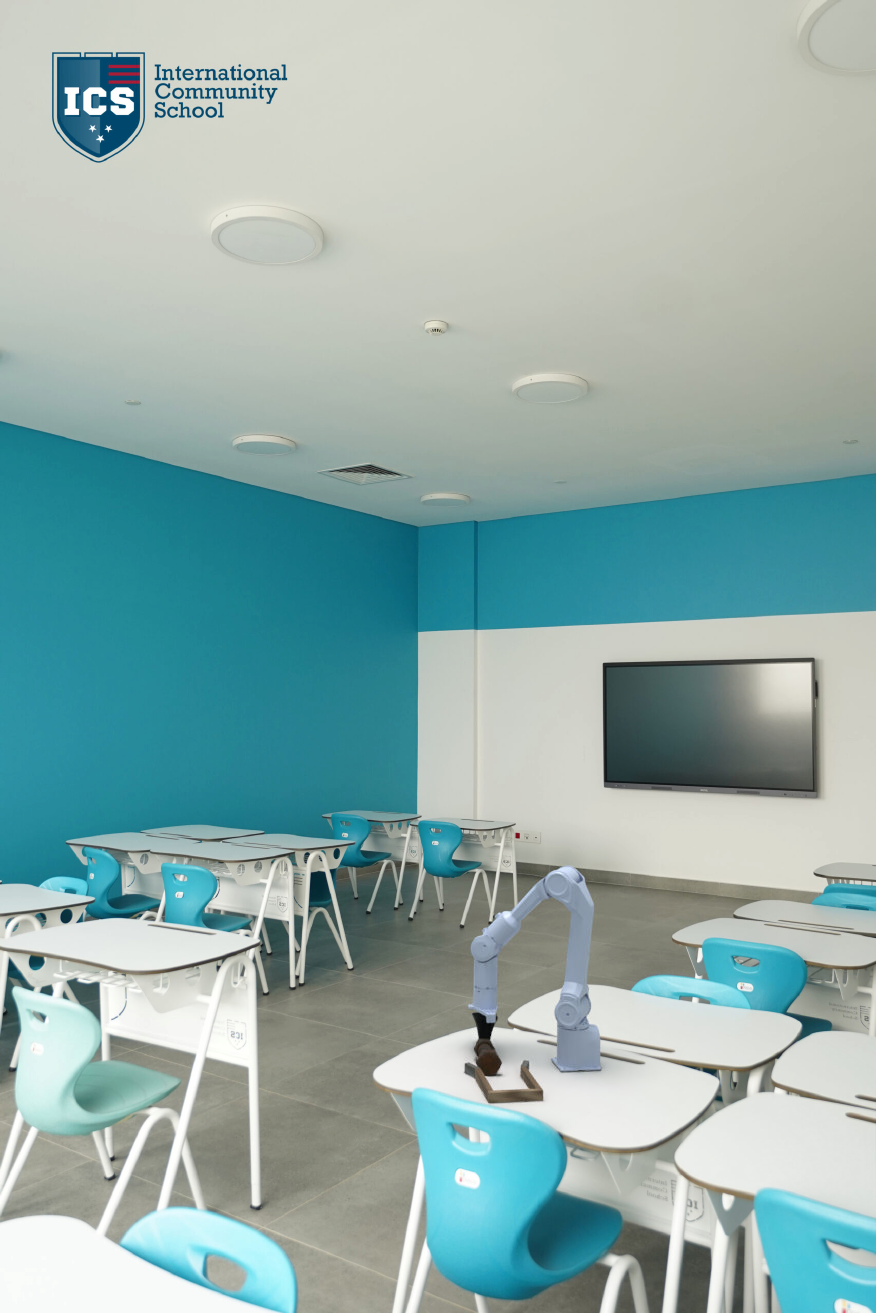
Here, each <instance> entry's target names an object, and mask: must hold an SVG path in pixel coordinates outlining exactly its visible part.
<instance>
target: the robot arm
mask: <svg viewBox="0 0 876 1313" xmlns="http://www.w3.org/2000/svg"><path fill="white" fill-rule="evenodd" d="M578 870H579V869H578ZM578 870H577V869H576V868H575V867H574V866H572V865H563V866H561V867H559V868H558V869H555V870H552V871H550V872H548V873H547V875H546V876H545V877H543V878H542V879H540V880H539V881H538V882H536V883H535V884H534V886H532V888H531V889H530V890H529V891H528V892H527V893H526V895H524V897H523V898H522V899H521V900H520V901H519V902H518V903H517V904H516V906H514V907H513V908H512V909H511V911H509V910H504V911H502V912H498V913H496V914H495V916H494V918H495V919H494V920H493V922H491V924H490V925H488V927H484V928H483V929H482V930H481V932H482V935H478V936H476V937H474V939H473V940H472V942H471V944H470V953H471V955H472V957H473V983H472V984H473V989H472V990H473V991H472V994H473V995H472V1003H470V1004H467V1009H468V1010H473V1011H475V1012H472V1013H471V1015H472V1017H473V1020H474V1023H475V1027H476V1032H477V1036H478V1037H477V1039H479V1038H486V1039H490V1040H491V1038H492V1035H493V1034H492V1033H493V1030H494V1028H495V1025H496V1023H497V1022H498V1020H499V1017H498V1014H497V1012H498V1010H499V1005H498V976H499V975H498V970H499V968H498V964H499V963H498V958H499V957H498V956H499V954H500V953H501V951H502V949H503V948H504V947H505V946H506V945H507V944H508V943H510V941H511V940H512V939H513V938H514V937H515V936H516V935H517V934H518V933H519V932H520V931H521V930H522V920H524V919H525V918H526V917H527V916H528V915H529V914H530V913H531V912H532V911H533V910H534V909H535V908H536V907H537V906H538V905H539V904H540V903H541V902H543V901H545V900H549V899H551V898H554V899H555V900H557V901H559V903H562V904H563V905H564V906H565V907H566V909H567V910H568V911H569V912H570V913H571V914H570V922H569V923H570V924H569V932H568V933H569V934H568V942H567V943H568V944H567V951H566V964H565V973H564V982H563V985H562V988H561V991H560V995H559V1000H558V1002H557V1003H556V1005H555V1008H554V1018H555V1020H556V1026H557V1027H556V1057H554V1056H553V1057H551V1059H550V1060H551V1061H552V1062H553V1063H554V1065H555V1066H556V1067H557V1068H558V1070H559V1071H560V1072H579V1071H578V1070H585V1071H601V1070H602V1067H601V1036H600V1030H599V1027H598V1026H597V1025H596V1024H591V1023H590V1022H589V1020H588V1018H587V1016H588V1015H589V1014H590V1012H591V1009H592V1002H591V999H590V996H589V990H590V987H589V985H588V975H589V974H588V973H589V972H588V971H589V963H590V953H591V952H590V951H591V944H592V935H593V934H592V933H593V932H592V931H593V923H594V914H595V904H594V901H593V898H592V896H591V894H590V891H589V889H588V887H587V884H586V878H585V876H584V875H583V874H582V873H581V872H580V871H578Z"/></svg>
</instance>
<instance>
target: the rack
mask: <svg viewBox="0 0 876 1313" xmlns="http://www.w3.org/2000/svg"><path fill="white" fill-rule="evenodd" d="M519 1070H520V1077H521V1079H522V1080H523V1083H525V1085H526V1086H527V1088H521V1089H517V1088H515V1089H496V1090H494V1089H493V1087H492V1086H491V1084H490V1082H489V1081H488V1079H487V1077H486V1076H485V1075H484V1073H483V1072H482V1070H481V1068H479V1067H477V1065H475V1064H473V1063H472V1062H465V1063H464V1073H465V1074H466V1075H468V1076H470V1077H472V1078H474V1079H475V1081H476V1083H477V1084H478V1087H479V1088H480V1089H481V1091H482V1094H483V1095H484V1097H485V1099H486V1101H487V1102H488V1104H497V1103H519V1102H539V1101H541V1102H542V1101H544V1089H543V1088H542V1087H541V1085H540V1084H539V1082H538V1081H537V1080H536V1079H535V1077H534V1076H533V1074H532V1073H531V1071H530V1060H525V1059H524V1060H523V1061H522V1063H521V1064H520V1069H519Z"/></svg>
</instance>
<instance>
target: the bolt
mask: <svg viewBox="0 0 876 1313" xmlns="http://www.w3.org/2000/svg"><path fill="white" fill-rule="evenodd" d="M473 1052H474V1053H475V1055H476V1057H477V1058H476V1060H475V1064H476V1065H475V1066H477V1067H479V1068H481V1070H482V1072H483V1073H484V1075H485V1077H486V1076H487V1077H488V1076H489V1077H491V1076H496V1075H497V1073H498V1072H499V1070H500V1069H501V1067H502V1064H503V1062H502V1060H501V1057H500V1056H499V1055H498V1053H497V1051H496V1048H495V1046H494V1044H493V1043H492V1041H491V1039H486V1038H477V1040H476V1042H475V1045H474V1047H473Z"/></svg>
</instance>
